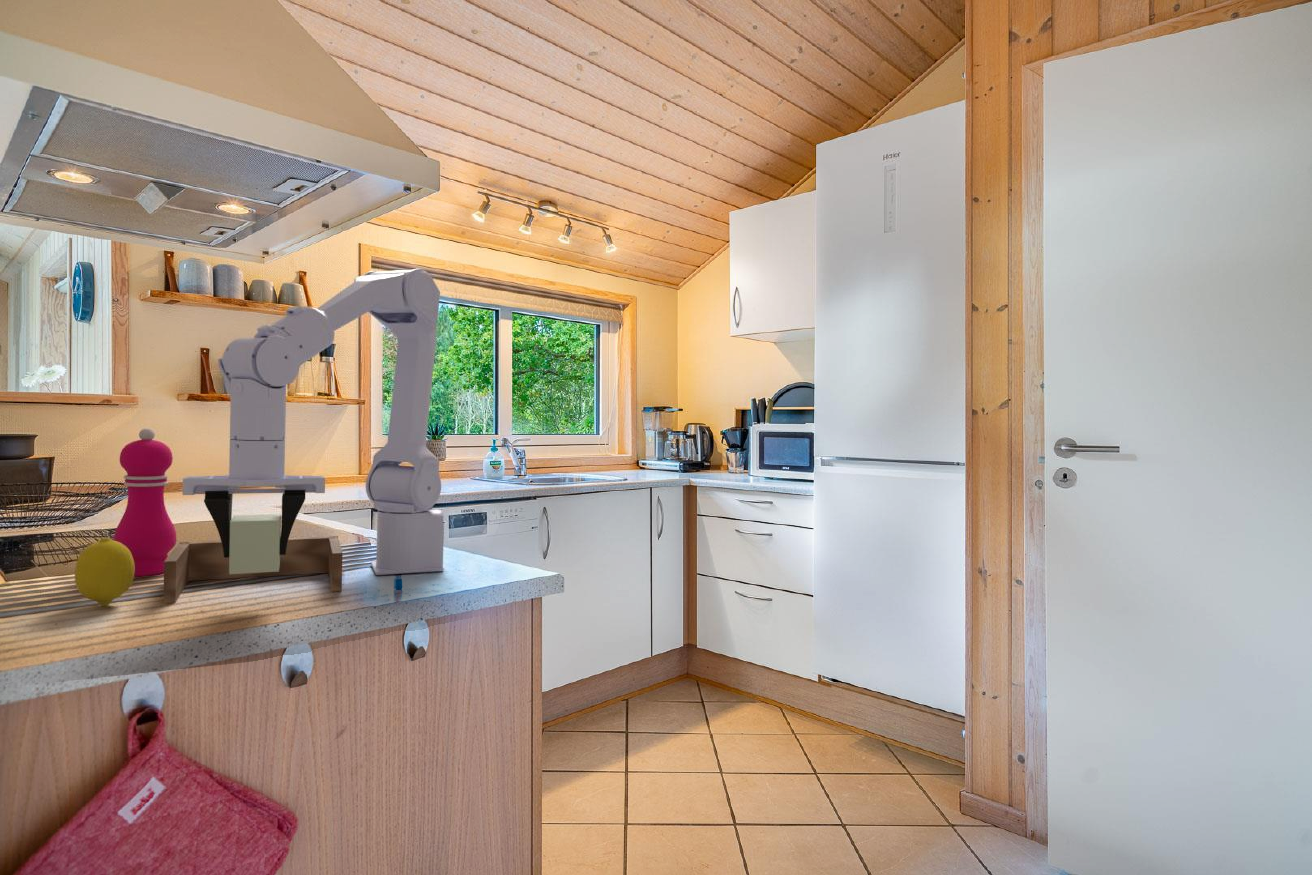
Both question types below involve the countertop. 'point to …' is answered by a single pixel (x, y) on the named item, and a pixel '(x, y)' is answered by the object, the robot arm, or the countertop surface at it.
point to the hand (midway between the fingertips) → (255, 554)
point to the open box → (211, 564)
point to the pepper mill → (146, 504)
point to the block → (254, 543)
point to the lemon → (104, 571)
